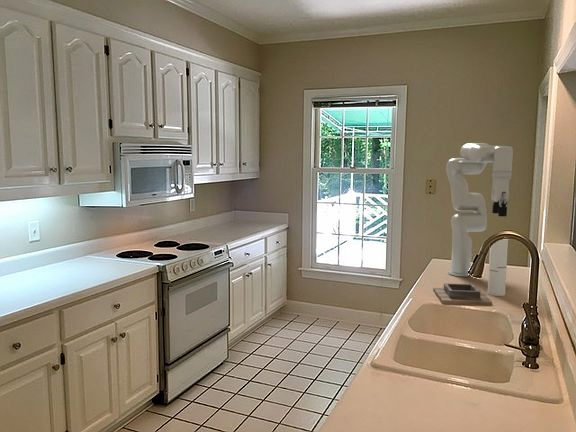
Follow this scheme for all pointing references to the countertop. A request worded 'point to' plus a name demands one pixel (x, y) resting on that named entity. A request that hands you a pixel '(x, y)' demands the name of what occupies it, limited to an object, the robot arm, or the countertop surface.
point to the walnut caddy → (461, 294)
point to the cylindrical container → (497, 268)
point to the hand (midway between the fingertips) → (499, 214)
